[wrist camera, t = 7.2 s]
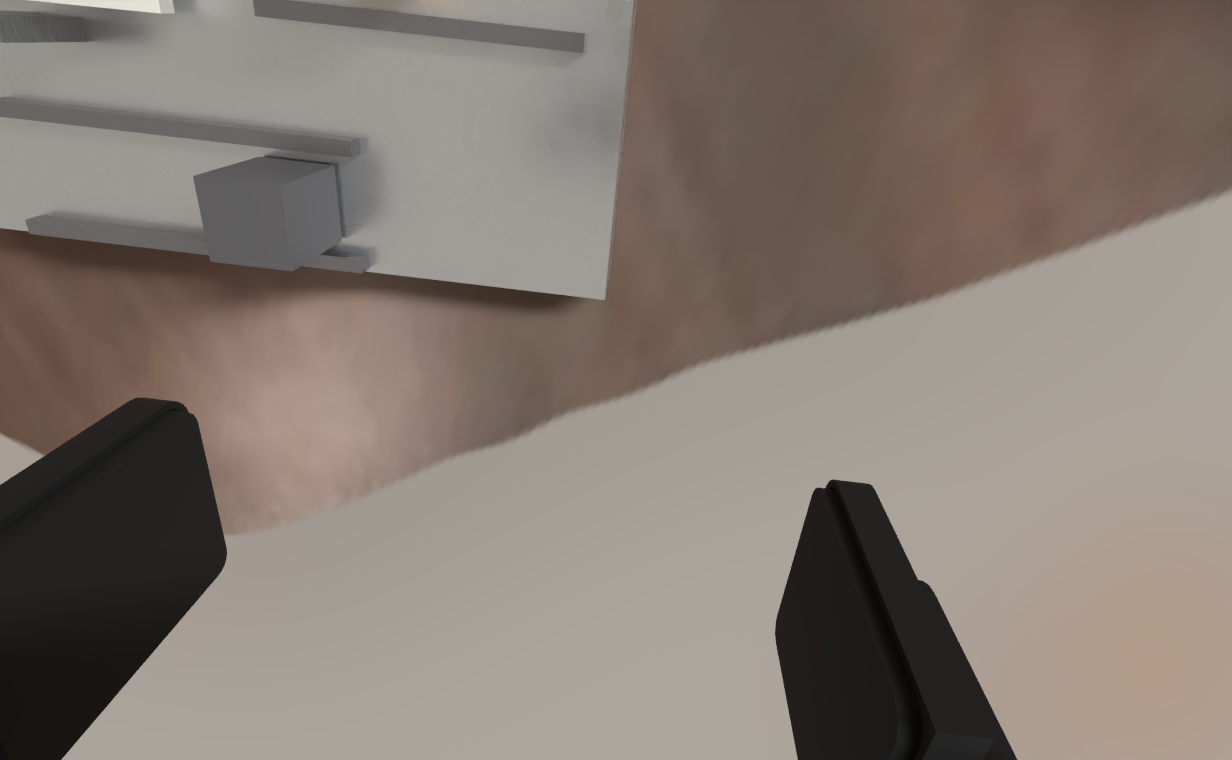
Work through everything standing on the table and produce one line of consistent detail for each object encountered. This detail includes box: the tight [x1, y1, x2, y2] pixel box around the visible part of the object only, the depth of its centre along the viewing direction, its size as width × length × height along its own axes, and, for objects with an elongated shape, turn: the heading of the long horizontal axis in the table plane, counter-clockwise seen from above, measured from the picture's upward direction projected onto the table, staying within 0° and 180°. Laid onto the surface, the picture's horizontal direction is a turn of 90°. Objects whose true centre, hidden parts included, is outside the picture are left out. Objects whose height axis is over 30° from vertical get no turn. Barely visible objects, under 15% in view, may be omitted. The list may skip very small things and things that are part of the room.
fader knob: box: [193, 157, 342, 272], centre depth 24 cm, size 3×3×4 cm
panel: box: [0, 0, 638, 300], centre depth 24 cm, size 16×27×6 cm, turn 84°
